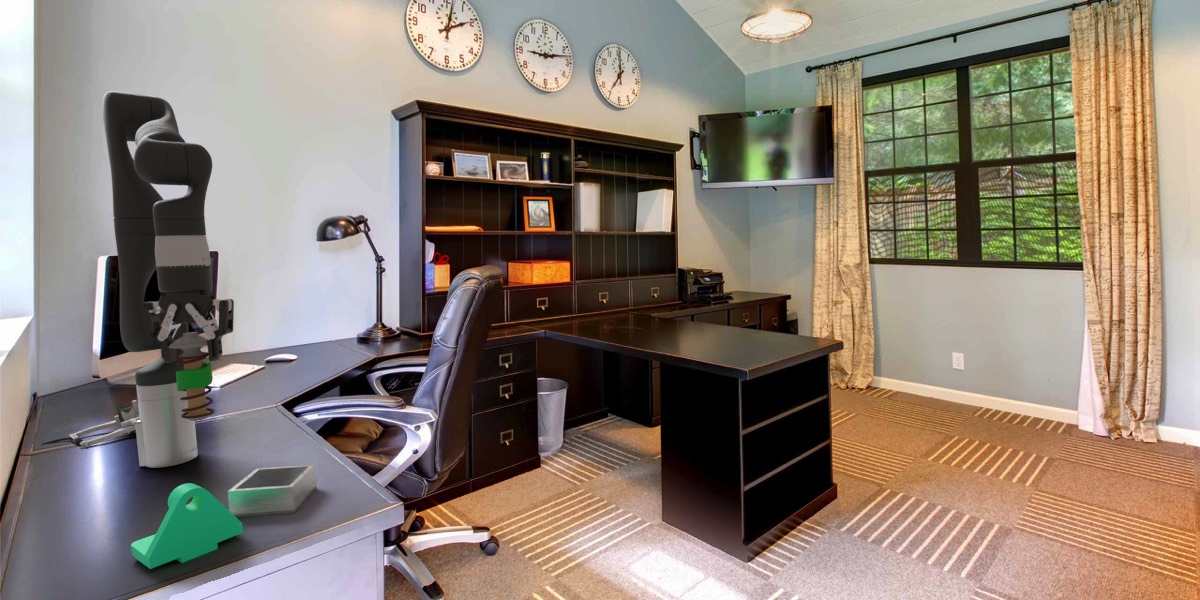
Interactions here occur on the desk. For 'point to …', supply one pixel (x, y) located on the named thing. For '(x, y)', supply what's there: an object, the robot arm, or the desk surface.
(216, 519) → the camera mount
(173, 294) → the robot arm
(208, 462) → the desk surface
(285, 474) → the square tray
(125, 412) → the bike brake
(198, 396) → the shock absorber
